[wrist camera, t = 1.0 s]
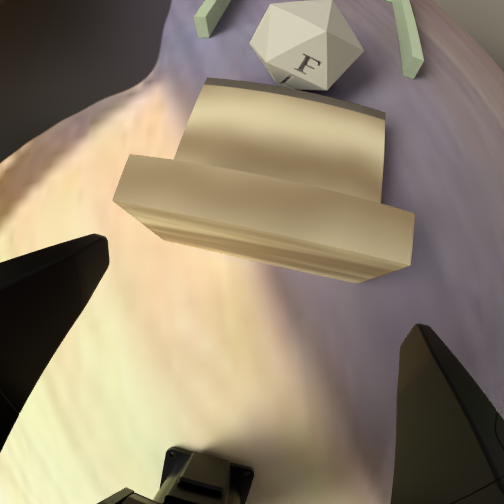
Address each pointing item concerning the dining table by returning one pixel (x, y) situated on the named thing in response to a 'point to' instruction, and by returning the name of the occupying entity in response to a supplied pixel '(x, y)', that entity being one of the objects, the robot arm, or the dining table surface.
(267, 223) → the block
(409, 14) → the fence
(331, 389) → the dining table surface
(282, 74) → the die
